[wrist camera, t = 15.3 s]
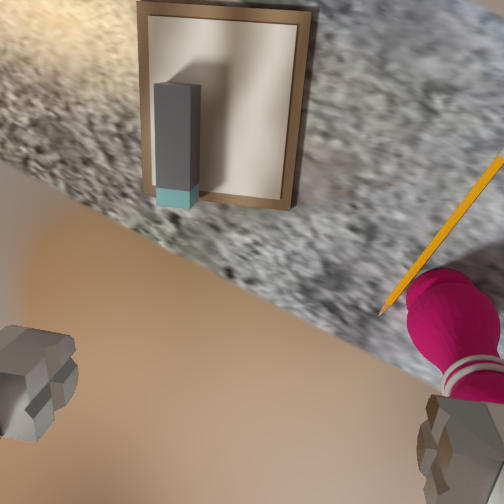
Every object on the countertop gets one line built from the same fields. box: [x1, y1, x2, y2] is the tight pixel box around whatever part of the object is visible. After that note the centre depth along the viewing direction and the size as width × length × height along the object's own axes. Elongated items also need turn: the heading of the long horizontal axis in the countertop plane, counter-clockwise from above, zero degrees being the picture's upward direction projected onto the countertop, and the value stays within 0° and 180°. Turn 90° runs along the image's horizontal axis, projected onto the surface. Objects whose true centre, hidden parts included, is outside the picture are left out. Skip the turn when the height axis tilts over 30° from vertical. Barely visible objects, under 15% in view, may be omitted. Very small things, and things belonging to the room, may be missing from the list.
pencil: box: [379, 148, 504, 315], centre depth 39 cm, size 1×19×1 cm, turn 153°
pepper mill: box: [406, 269, 504, 404], centre depth 33 cm, size 7×7×20 cm
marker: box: [154, 82, 201, 209], centre depth 38 cm, size 3×10×3 cm, turn 176°
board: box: [137, 1, 312, 211], centre depth 38 cm, size 14×16×1 cm
